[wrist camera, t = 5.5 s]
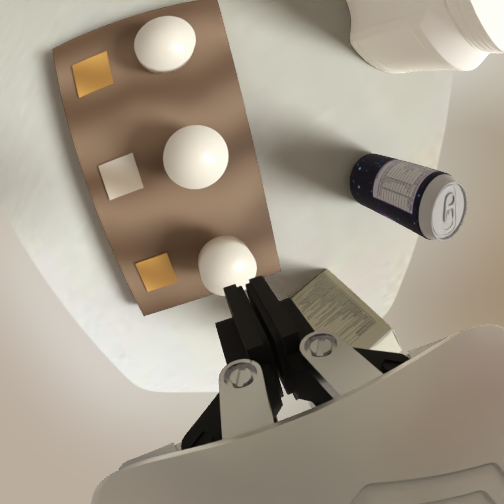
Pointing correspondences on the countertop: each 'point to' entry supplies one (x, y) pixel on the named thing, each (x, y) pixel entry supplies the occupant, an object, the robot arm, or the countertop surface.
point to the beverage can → (410, 195)
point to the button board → (151, 153)
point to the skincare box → (344, 314)
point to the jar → (426, 33)
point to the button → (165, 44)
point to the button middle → (195, 157)
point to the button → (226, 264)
